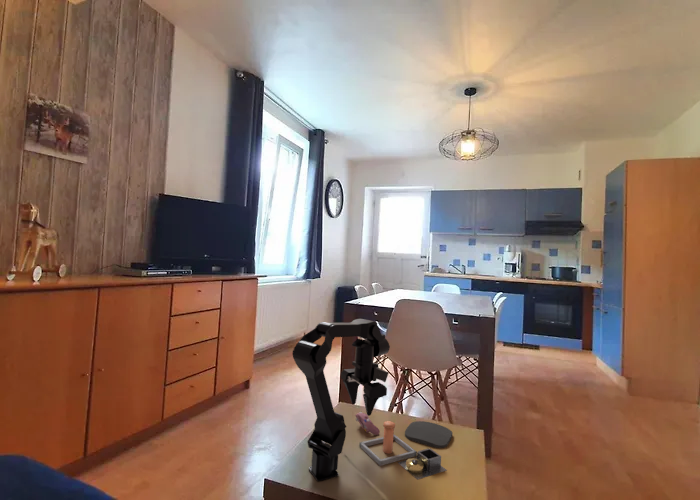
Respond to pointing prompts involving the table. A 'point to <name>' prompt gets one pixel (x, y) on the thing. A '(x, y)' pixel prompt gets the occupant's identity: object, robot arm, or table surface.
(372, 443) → the tray
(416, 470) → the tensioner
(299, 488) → the table surface
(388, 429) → the pin
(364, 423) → the video game controller
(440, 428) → the media streaming box
